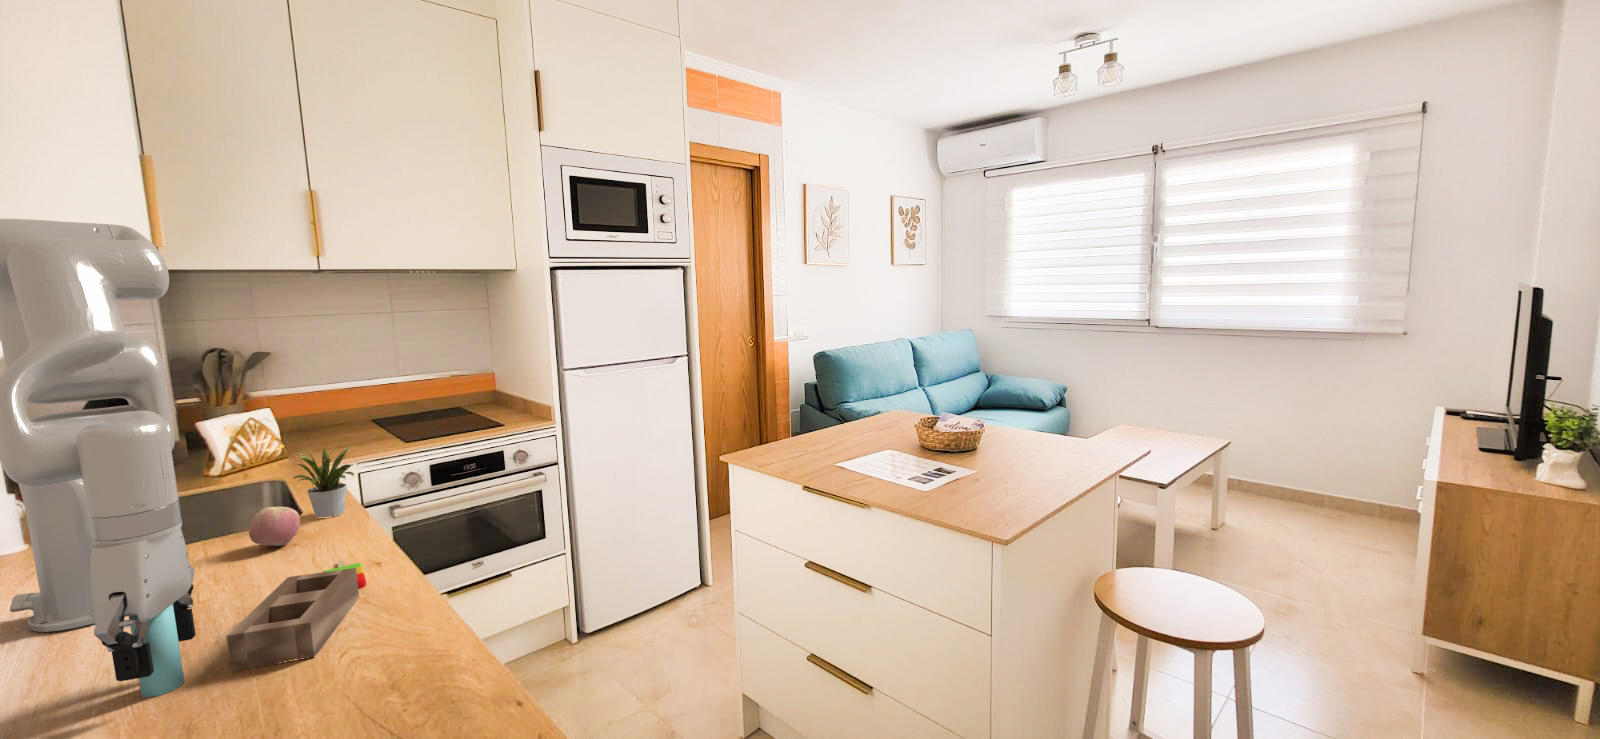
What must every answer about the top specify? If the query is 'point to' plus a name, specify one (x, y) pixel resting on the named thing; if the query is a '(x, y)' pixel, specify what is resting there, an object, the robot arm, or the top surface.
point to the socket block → (293, 619)
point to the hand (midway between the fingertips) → (158, 657)
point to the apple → (274, 526)
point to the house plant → (326, 484)
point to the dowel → (162, 655)
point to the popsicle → (359, 571)
